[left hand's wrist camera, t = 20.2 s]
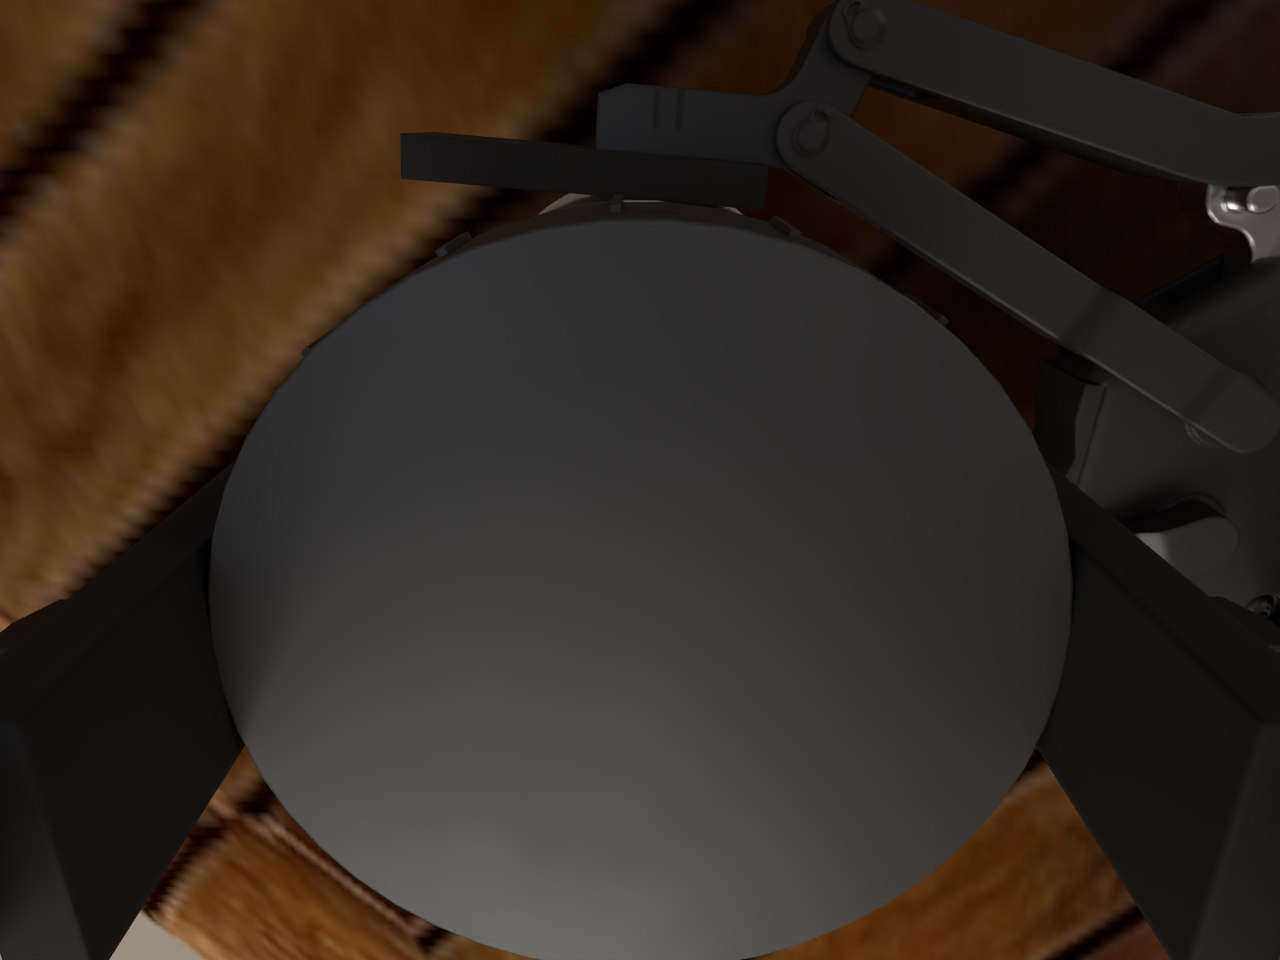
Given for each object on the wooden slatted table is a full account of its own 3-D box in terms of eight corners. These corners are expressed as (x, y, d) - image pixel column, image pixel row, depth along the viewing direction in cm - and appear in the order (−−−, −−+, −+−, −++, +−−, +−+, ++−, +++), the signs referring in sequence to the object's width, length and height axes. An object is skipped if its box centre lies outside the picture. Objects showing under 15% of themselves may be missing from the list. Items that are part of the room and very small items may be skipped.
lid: (352, 67, 10) (284, 54, 8) (1155, 348, 11) (1259, 394, 9) (217, 765, 13) (148, 869, 11) (837, 922, 14) (866, 1040, 12)
